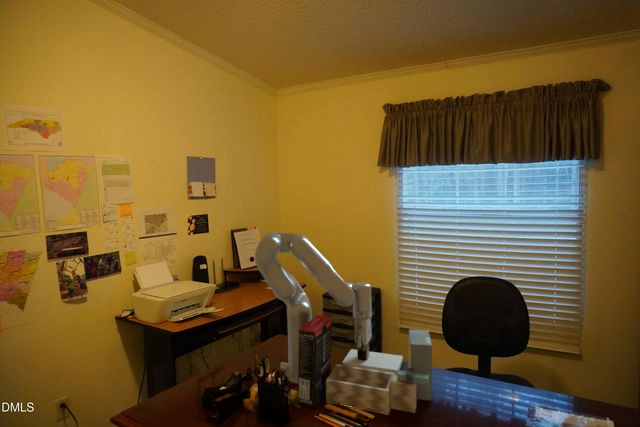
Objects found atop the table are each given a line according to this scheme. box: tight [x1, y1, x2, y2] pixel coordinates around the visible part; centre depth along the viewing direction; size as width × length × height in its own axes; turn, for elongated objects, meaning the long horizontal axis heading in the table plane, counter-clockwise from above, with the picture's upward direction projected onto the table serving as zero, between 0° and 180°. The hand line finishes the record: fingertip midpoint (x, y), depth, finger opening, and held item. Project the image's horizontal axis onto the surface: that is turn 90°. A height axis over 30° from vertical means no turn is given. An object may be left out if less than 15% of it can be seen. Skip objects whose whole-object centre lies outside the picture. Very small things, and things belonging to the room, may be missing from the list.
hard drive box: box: [408, 329, 433, 401], centre depth 135 cm, size 16×8×20 cm, turn 168°
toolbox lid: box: [341, 343, 404, 375], centre depth 147 cm, size 22×13×6 cm, turn 69°
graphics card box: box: [297, 314, 332, 409], centre depth 132 cm, size 17×7×27 cm, turn 159°
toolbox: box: [325, 363, 417, 416], centre depth 128 cm, size 30×13×13 cm, turn 69°
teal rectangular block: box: [396, 369, 429, 385], centre depth 123 cm, size 10×3×2 cm, turn 69°
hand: (363, 357), depth 148 cm, fingers closed on toolbox lid, 3 cm apart
